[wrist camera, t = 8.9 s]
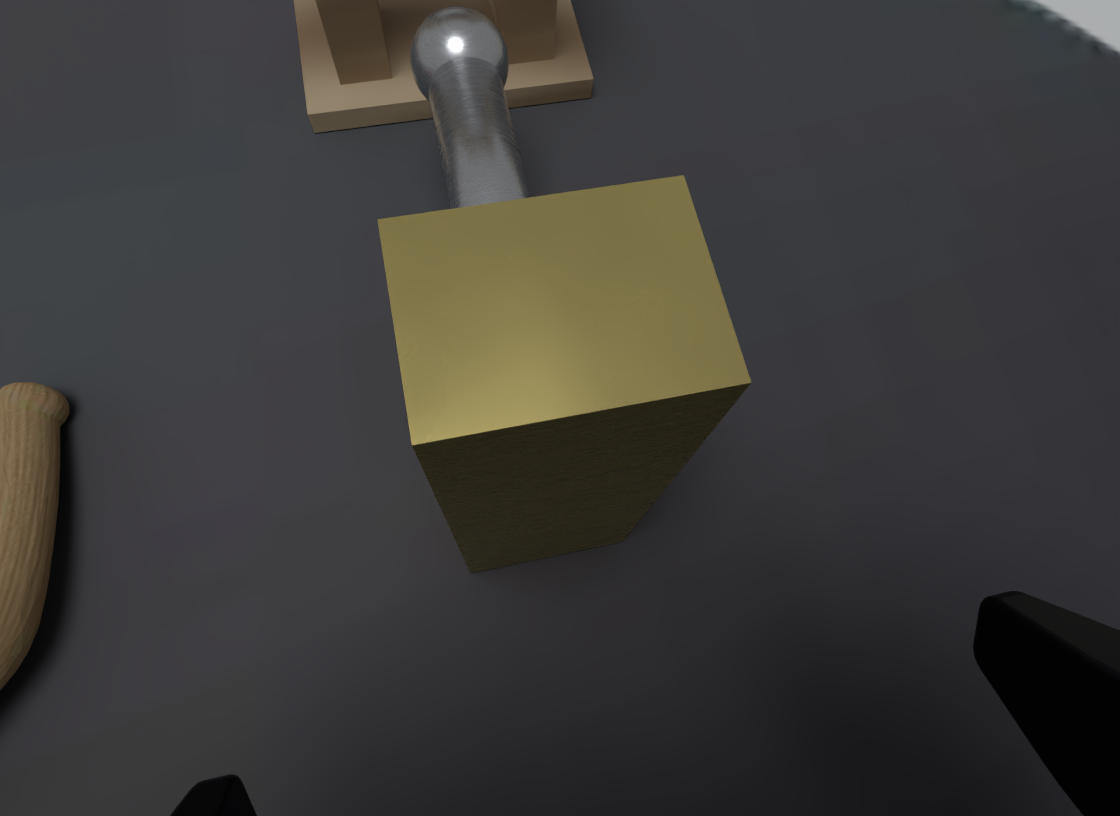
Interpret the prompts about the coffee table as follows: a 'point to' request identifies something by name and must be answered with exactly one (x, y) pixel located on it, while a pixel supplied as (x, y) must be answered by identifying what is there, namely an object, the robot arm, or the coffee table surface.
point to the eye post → (384, 57)
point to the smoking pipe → (26, 511)
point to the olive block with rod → (546, 327)
